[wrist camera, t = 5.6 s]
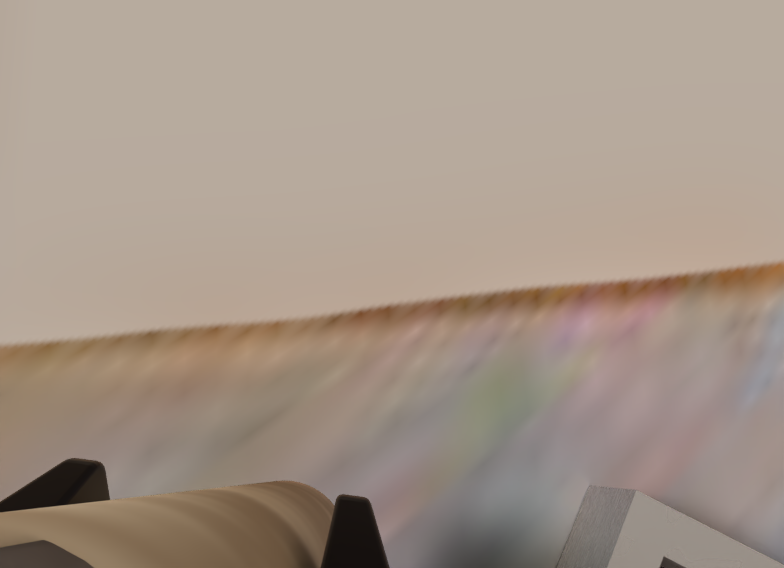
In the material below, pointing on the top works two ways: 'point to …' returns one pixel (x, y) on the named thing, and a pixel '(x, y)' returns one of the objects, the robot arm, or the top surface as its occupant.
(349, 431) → the top surface
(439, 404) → the top surface
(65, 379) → the top surface
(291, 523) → the slotted cylinder
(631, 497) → the socket block
